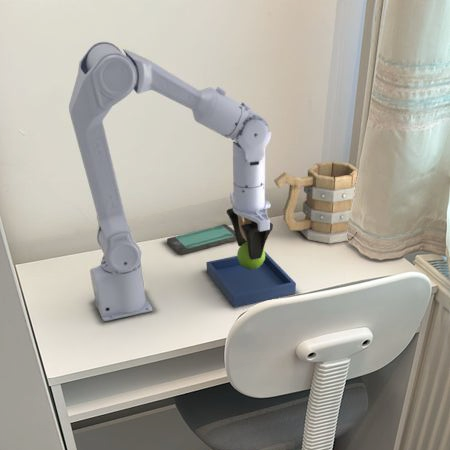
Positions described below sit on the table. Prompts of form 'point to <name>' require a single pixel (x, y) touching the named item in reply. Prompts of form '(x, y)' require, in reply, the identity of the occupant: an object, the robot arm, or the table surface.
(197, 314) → the table surface
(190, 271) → the table surface
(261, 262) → the snail figurine
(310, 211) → the tankard
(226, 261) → the tray
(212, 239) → the smartphone
